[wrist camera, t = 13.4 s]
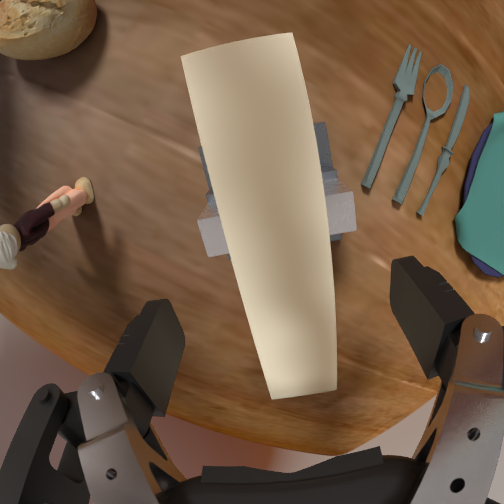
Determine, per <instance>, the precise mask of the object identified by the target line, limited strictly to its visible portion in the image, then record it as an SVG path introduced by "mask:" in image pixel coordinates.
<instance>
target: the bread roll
mask: <svg viewBox="0 0 504 504" xmlns="http://www.w3.org/2000/svg"><path fill="white" fill-rule="evenodd" d="M96 17H97V7H96V3H95V0H2V1H1V2H0V53H1V54H3V55H5V56H7V57H10V58H14V59H20V60H42V59H49V58H53V57H57V56H60V55H64V54H66V53H68V52H70V51H71V50H73V49H75V48H76V47H77V46H78V45H80V44H81V43H82V42H83V41H84V40H85V39H86V38H87V37H88V36H89V34H90V33H91V32H93V28H94V26H95V22H96Z"/></svg>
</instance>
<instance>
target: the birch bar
mask: <svg viewBox="0 0 504 504" xmlns="http://www.w3.org/2000/svg"><path fill="white" fill-rule="evenodd" d="M181 60H182V64H183V69H184V73H185V77H186V82H187V86H188V90H189V95H190V99H191V103H192V107H193V112H194V116H195V120H196V124H197V128H198V132H199V137H200V141H201V145H202V149H203V153H204V157H205V161H206V165H207V169H208V173H209V177H210V181H211V185H212V188H213V192H214V196H215V200H216V204H217V208H218V212H219V215H220V219H221V223H222V227H223V231H224V234H225V238H226V242H227V246H228V249H229V253H230V257H231V260H232V264H233V268H234V271H235V275H236V279H237V282H238V286H239V289H240V293H241V296H242V300H243V304H244V307H245V311H246V314H247V318H248V321H249V325H250V328H251V332H252V335H253V338H254V342H255V345H256V349H257V352H258V356H259V359H260V362H261V366H262V369H263V372H264V376H265V379H266V382H267V386H268V389H269V392H270V396H271V399H280V398H288V397H296V396H303V395H309V394H316V393H322V392H327V391H333V390H337V342H336V315H335V296H334V281H333V268H332V256H331V245H330V236H329V226H328V217H327V209H326V201H325V194H324V186H323V179H322V173H321V166H320V160H319V154H318V148H317V142H316V136H315V131H314V125H313V120H312V115H311V110H310V105H309V100H308V96H307V91H306V86H305V82H304V78H303V73H302V69H301V65H300V61H299V57H298V53H297V49H296V45H295V41H294V38H293V34H292V33H284V34H276V35H269V36H263V37H257V38H251V39H246V40H241V41H236V42H232V43H227V44H223V45H219V46H215V47H211V48H207V49H203V50H200V51H196V52H193V53H190V54H186V55H183V56H181Z"/></svg>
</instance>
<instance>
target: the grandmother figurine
mask: <svg viewBox="0 0 504 504" xmlns="http://www.w3.org/2000/svg"><path fill="white" fill-rule="evenodd" d="M93 200H94V194H93V190H92V186H91V182H90V180H89V179H88V178H86V177H81V178H80V179H78V180H77V182H76V184H75V189H72V188H70V187H69V186H63V187H61V188H60V189H58V190H57V191H55V192H54V193H53V194H51V195H50V196H49V197H48V198H46V199H45V200H44V201H43V202H42V203H41V204H40V205H39V206H38V207H37V208H36V209H34V210H30V211H28V212H26V213H25V214H23V215H22V217H21V218H20V219H19V220H18V221H17V222H16V224H15V225H14V226H13V225H11V224H3V225H1V226H0V268H6V269H14V268H15V267H16V266H17V260H16V258H15V256H16V255H17V253H18V251H23V250H25V249H26V247H27V246H29V245H32V244H34V243H36V242H37V241H38V240H39V239H40V238H42V237H43V236H45V235H46V233H47V232H48V231H50V230H51V229H52V228H53V227H55V226H56V225H57V224H58V223H59V222H60V221H61V220H62V219H65V218H67V217H69V216H71V215H73V216H78V215H80V213H81V212H82V207H81V206H83V205H84V204H90V203H92V202H93Z"/></svg>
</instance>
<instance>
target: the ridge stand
mask: <svg viewBox="0 0 504 504" xmlns="http://www.w3.org/2000/svg"><path fill="white" fill-rule="evenodd" d="M313 125H314V131H315V136H316V142H317V148H318V154H319V160H320V166H321V173H322V179H323V186H324V194H325V201H326V209H327V217H328V226H329V236H330V241H336V240H341V233H344V232H350V231H355V230H356V217H355V206H354V196H353V191H352V190H351V189H350V188H349V187H347V186H346V185H345V184H344V183H343V182H341V181H340V180H339V179H338V176H337V170H336V169H334V168H333V165H332V159H331V152H330V147H329V141H328V135H327V130H326V124H325V122H320V123H313ZM198 148H199V152H200V156H201V160H202V164H203V168H204V171H205V175H206V179H207V183H208V186H209V192H208V193H207V194H206V198H207V201H208V204H207V206H206V207H205V209H204V210H203V212H202V214H201V215H200V217H199V218H198V220H197V222H198V226H199V229H200V232H201V235H202V239H203V242H204V245H205V248H206V251H207V255H208V257H212V256H218V255H223V254H227V255H228V259H229V260H230V259H231V257H230V253H229V249H228V246H227V242H226V238H225V234H224V231H223V227H222V223H221V219H220V215H219V212H218V208H217V204H216V200H215V196H214V192H213V188H212V185H211V181H210V177H209V173H208V169H207V165H206V161H205V157H204V153H203V149H202V146H201V147H198Z"/></svg>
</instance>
